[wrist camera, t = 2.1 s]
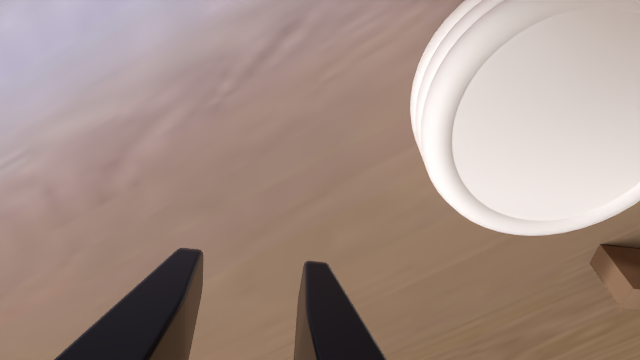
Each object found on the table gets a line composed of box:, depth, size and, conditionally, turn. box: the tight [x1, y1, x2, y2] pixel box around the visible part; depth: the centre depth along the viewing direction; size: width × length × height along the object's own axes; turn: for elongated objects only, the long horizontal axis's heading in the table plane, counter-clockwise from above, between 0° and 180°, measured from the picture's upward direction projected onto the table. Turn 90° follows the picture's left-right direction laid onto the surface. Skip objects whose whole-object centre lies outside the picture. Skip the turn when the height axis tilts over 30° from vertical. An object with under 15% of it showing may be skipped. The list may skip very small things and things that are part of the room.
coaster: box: [410, 0, 640, 236], centre depth 19 cm, size 10×10×4 cm
